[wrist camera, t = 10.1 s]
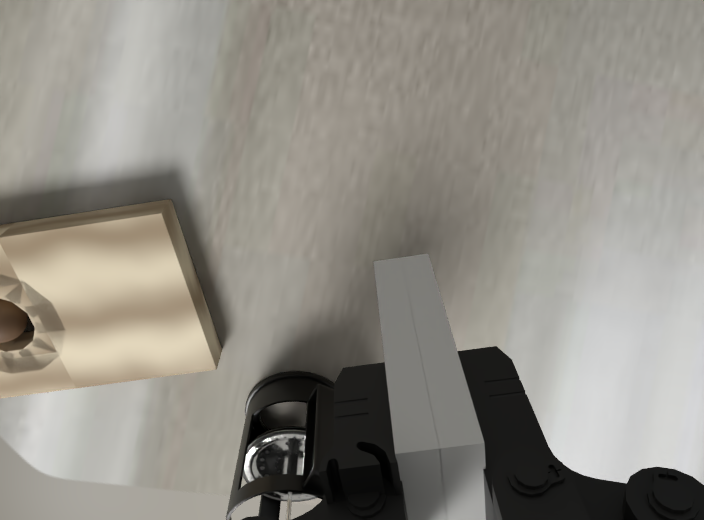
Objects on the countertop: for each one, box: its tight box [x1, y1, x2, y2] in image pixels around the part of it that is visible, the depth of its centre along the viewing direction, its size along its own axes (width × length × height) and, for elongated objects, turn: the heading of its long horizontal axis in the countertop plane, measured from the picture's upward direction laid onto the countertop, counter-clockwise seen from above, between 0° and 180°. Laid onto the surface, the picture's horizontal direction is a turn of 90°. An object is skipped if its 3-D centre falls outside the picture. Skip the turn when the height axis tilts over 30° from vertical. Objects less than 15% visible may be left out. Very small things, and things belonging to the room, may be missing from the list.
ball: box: [0, 299, 28, 343], centre depth 43 cm, size 4×4×4 cm
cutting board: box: [0, 199, 222, 398], centre depth 43 cm, size 14×20×2 cm
